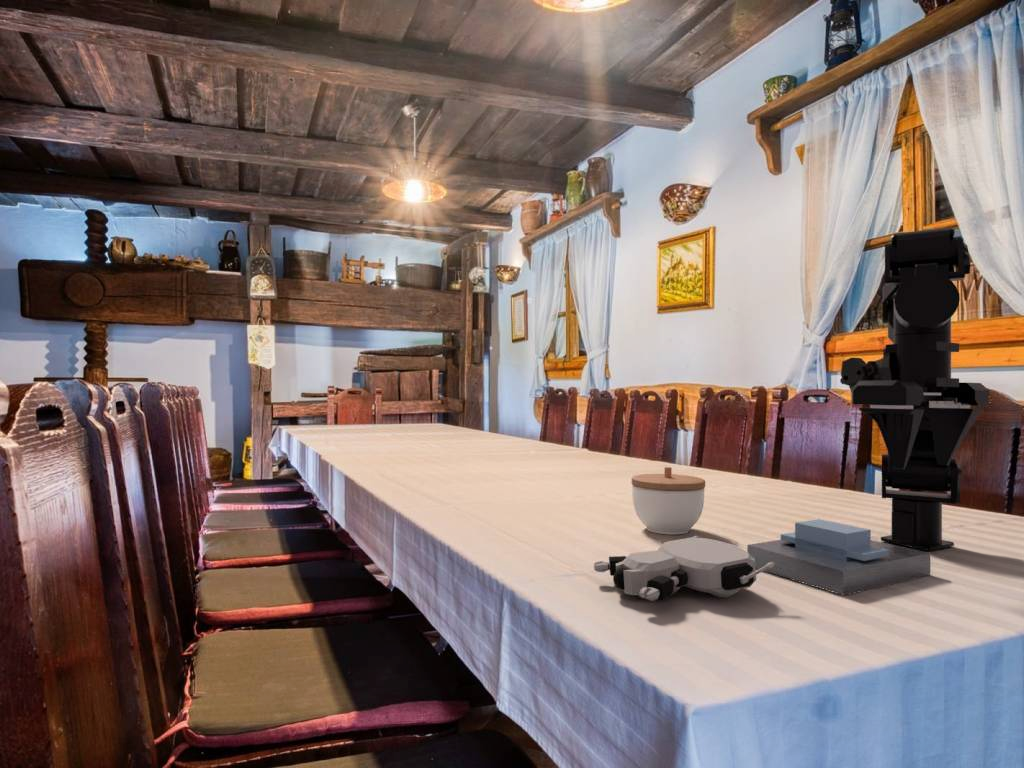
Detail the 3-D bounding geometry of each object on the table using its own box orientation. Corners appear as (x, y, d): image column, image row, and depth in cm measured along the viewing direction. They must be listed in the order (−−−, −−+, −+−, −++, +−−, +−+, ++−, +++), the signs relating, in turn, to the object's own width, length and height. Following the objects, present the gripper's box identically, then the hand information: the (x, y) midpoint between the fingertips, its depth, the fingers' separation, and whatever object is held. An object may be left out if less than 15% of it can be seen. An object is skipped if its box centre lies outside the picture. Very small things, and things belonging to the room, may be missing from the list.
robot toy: (649, 631, 56) (781, 601, 61) (646, 581, 56) (778, 555, 61) (587, 590, 67) (703, 567, 72) (585, 548, 67) (700, 529, 72)
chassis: (832, 550, 81) (832, 531, 81) (930, 574, 70) (930, 552, 71) (747, 565, 73) (747, 544, 73) (843, 595, 63) (843, 571, 63)
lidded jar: (616, 529, 93) (617, 466, 93) (657, 519, 100) (658, 461, 100) (679, 542, 85) (679, 474, 85) (718, 531, 92) (719, 468, 92)
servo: (812, 555, 78) (812, 515, 78) (896, 577, 69) (896, 532, 69) (780, 560, 75) (780, 519, 75) (864, 584, 66) (864, 537, 66)
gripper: (897, 343, 85) (897, 457, 85) (810, 336, 76) (809, 463, 76) (991, 337, 75) (991, 466, 75) (903, 328, 66) (903, 474, 66)
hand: (921, 466), depth 73 cm, fingers open, 9 cm apart
